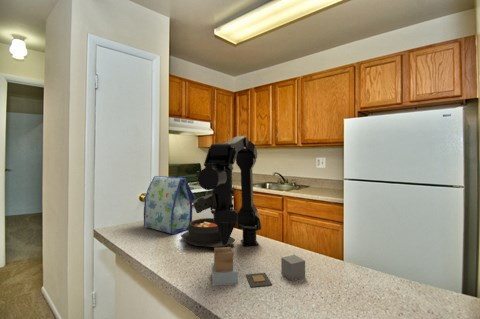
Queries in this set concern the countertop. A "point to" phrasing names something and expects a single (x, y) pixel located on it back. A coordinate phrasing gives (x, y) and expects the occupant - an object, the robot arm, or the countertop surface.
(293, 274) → the grey cube
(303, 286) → the countertop surface
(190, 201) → the lunch bag
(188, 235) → the casserole
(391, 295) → the countertop surface
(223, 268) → the walnut cube
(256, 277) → the mat
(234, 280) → the base block
